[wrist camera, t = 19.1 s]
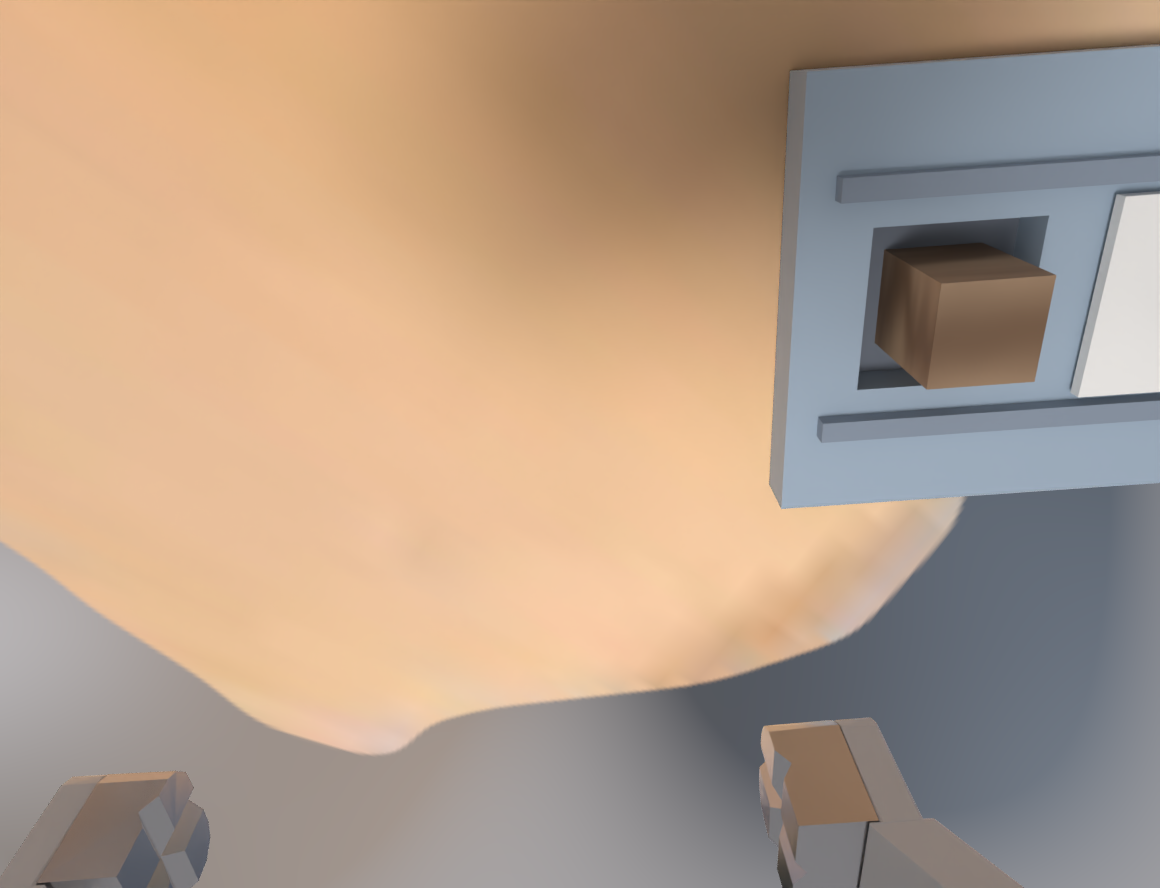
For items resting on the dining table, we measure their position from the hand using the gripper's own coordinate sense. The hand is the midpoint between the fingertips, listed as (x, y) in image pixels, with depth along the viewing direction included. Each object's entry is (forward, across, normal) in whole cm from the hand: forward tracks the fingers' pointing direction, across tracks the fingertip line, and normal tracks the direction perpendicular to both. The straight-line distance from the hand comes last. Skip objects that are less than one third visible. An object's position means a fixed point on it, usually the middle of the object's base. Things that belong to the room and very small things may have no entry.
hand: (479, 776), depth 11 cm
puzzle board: (+28, -23, +3) cm, 36 cm away
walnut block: (+28, -19, +3) cm, 34 cm away
